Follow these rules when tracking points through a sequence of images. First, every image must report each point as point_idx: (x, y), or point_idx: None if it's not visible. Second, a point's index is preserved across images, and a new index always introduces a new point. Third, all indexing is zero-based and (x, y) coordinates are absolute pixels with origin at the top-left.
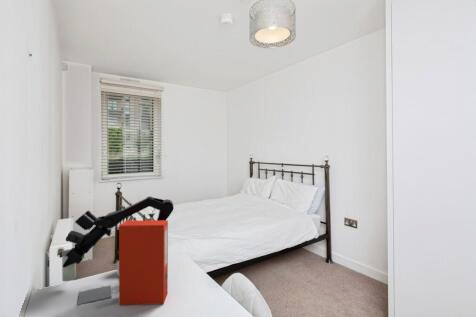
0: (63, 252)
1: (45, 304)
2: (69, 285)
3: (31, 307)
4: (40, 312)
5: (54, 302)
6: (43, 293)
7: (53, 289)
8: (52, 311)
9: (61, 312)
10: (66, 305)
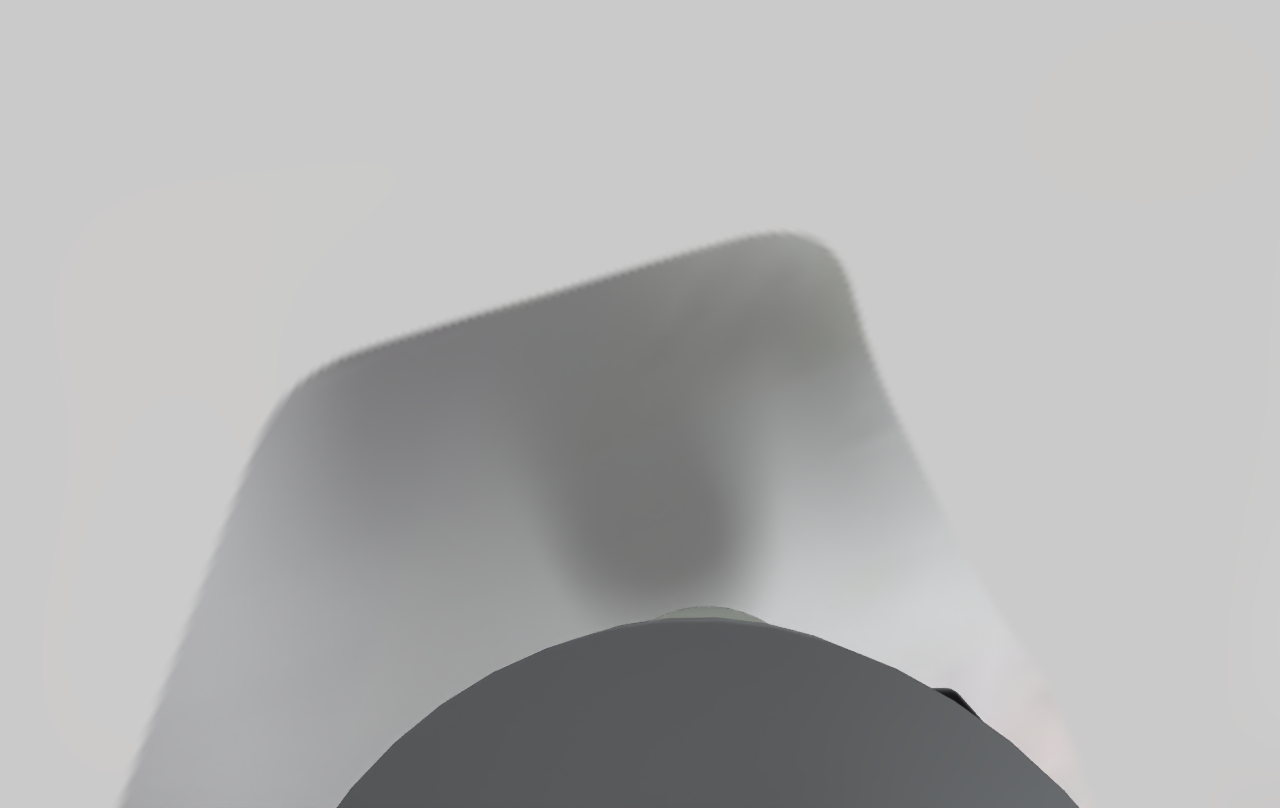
0: (580, 758)
1: (397, 500)
2: (873, 643)
3: (380, 362)
4: (228, 516)
5: (410, 599)
6: (700, 355)
7: (788, 443)
8: (195, 657)
9: (126, 787)
10: (275, 799)
